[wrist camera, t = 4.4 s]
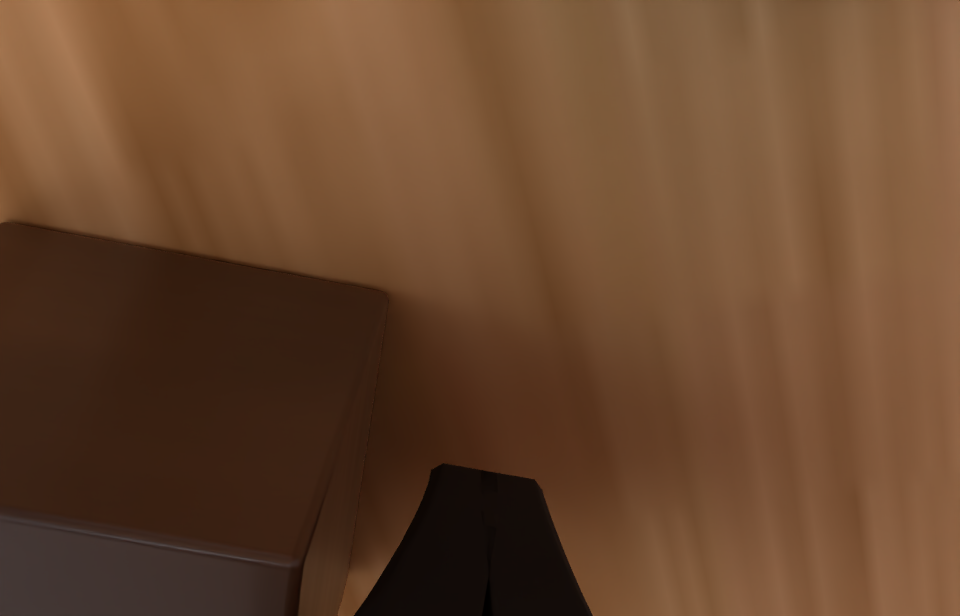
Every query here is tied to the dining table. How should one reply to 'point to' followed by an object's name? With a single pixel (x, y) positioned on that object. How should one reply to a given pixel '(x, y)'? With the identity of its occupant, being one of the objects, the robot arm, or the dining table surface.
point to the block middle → (177, 431)
